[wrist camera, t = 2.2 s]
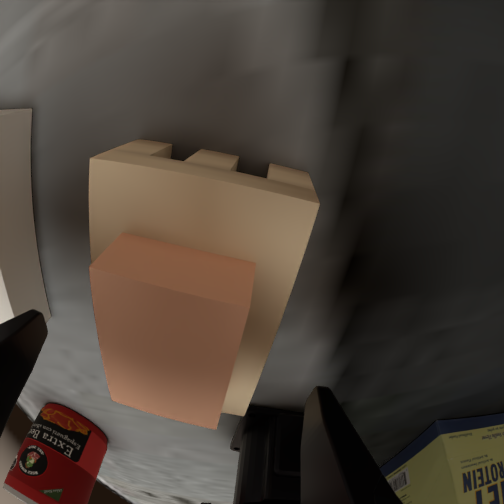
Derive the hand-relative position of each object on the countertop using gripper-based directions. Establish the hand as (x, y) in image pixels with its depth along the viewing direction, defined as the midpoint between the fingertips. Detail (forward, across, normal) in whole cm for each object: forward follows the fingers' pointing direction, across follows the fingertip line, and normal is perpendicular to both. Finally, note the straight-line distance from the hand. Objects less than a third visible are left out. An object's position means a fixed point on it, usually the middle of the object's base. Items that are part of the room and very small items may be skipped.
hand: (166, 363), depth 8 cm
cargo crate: (+2, 0, 0) cm, 2 cm away
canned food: (+5, +11, +22) cm, 25 cm away
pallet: (+5, 0, 0) cm, 5 cm away
